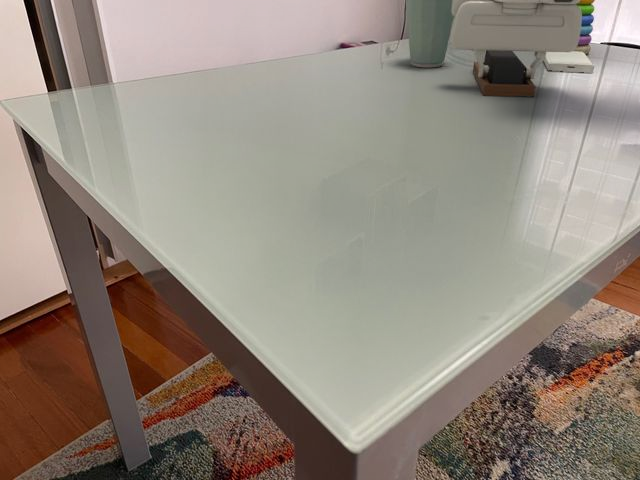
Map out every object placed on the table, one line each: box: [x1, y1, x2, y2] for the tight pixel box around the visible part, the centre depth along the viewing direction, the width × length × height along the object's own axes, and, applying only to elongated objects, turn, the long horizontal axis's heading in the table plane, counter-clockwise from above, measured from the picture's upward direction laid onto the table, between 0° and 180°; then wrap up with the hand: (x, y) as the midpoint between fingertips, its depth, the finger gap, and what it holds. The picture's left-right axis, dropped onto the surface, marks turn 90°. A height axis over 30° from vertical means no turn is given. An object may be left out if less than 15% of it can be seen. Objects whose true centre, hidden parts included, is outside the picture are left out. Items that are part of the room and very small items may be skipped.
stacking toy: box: [573, 0, 596, 55], centre depth 112 cm, size 8×8×19 cm
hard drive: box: [543, 51, 595, 74], centre depth 106 cm, size 2×8×12 cm
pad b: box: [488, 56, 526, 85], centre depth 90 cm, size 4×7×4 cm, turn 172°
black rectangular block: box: [483, 50, 518, 79], centre depth 96 cm, size 4×7×4 cm, turn 172°
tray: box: [472, 61, 537, 97], centre depth 94 cm, size 8×17×2 cm, turn 172°
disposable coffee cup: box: [405, 0, 454, 68], centre depth 103 cm, size 11×11×15 cm
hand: (505, 77), depth 90 cm, fingers open, 6 cm apart
